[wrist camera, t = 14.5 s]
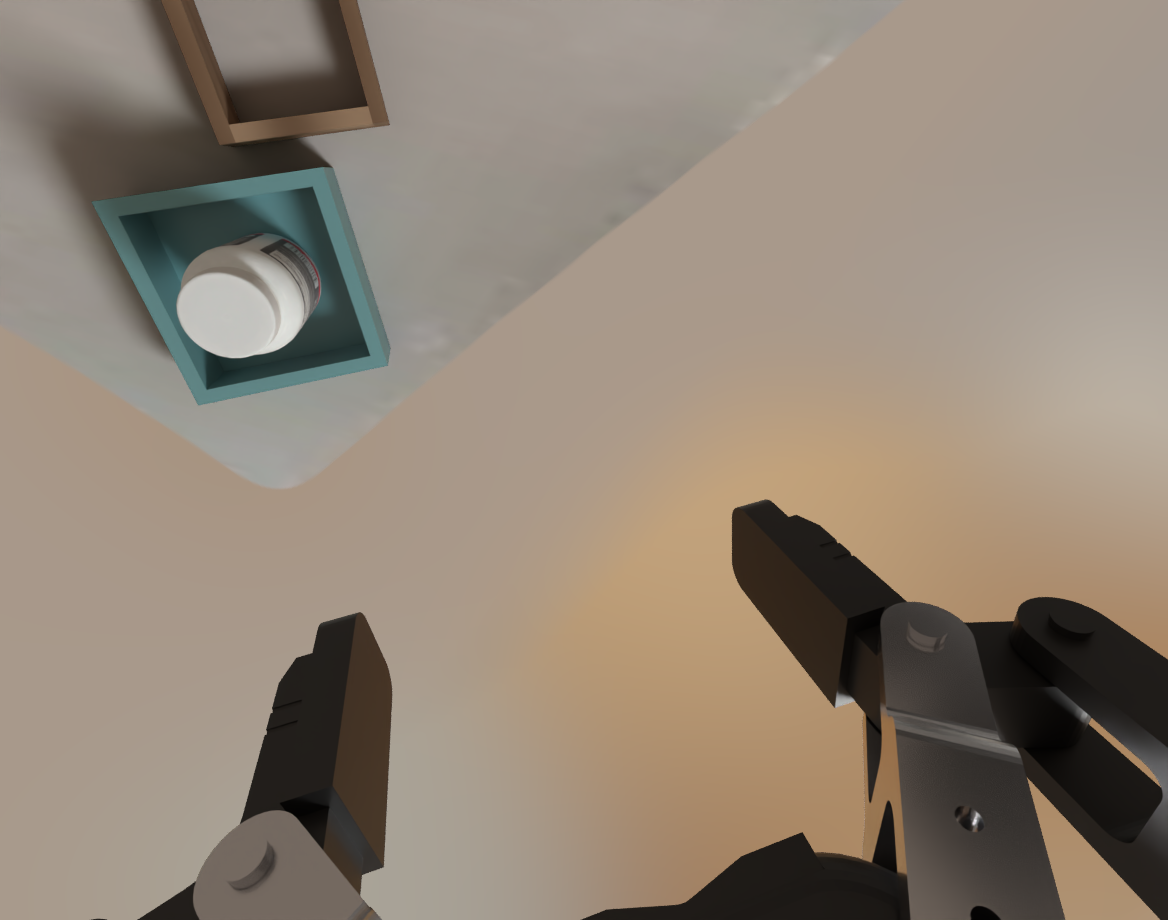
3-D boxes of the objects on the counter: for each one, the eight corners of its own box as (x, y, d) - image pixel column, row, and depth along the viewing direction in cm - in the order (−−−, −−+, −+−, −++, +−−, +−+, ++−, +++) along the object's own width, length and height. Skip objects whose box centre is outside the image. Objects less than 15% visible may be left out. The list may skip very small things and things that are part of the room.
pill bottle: (227, 317, 34) (163, 366, 25) (219, 223, 31) (146, 243, 23) (323, 328, 35) (293, 377, 27) (322, 240, 33) (290, 264, 25)
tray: (333, 167, 32) (322, 167, 29) (390, 348, 38) (387, 365, 34) (128, 198, 30) (91, 201, 27) (219, 383, 36) (198, 405, 32)
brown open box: (337, -73, 28) (330, -93, 26) (389, 125, 32) (387, 121, 30) (153, -58, 26) (129, -79, 24) (233, 146, 31) (219, 144, 28)
